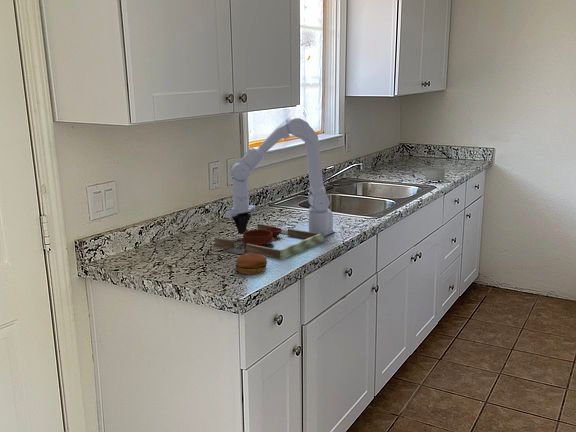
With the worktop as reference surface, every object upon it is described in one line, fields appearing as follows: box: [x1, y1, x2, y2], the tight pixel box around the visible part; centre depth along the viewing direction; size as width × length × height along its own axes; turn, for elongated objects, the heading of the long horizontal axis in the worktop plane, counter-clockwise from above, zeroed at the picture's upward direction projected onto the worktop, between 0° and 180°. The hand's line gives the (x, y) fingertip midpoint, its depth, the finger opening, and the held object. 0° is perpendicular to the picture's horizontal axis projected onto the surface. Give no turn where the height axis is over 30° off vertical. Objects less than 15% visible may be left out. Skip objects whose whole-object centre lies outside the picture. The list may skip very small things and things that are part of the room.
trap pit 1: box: [224, 247, 247, 256], centre depth 190 cm, size 4×6×1 cm, turn 55°
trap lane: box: [214, 223, 325, 260], centre depth 199 cm, size 25×29×3 cm
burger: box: [234, 252, 268, 275], centre depth 171 cm, size 10×9×5 cm
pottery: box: [240, 227, 283, 247], centre depth 201 cm, size 12×20×4 cm, turn 152°
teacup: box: [424, 166, 446, 181], centre depth 317 cm, size 14×11×8 cm
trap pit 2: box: [279, 229, 288, 236], centre depth 213 cm, size 4×6×1 cm, turn 55°
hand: (241, 233), depth 207 cm, fingers closed
